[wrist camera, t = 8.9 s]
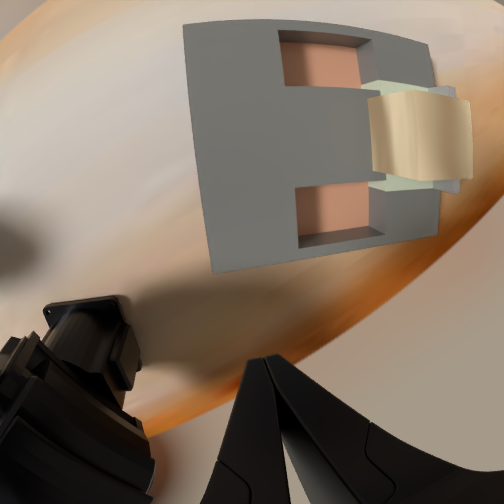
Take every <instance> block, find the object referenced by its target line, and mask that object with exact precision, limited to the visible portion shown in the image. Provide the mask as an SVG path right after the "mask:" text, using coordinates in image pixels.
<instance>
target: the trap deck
mask: <svg viewBox="0 0 504 504" xmlns="http://www.w3.org/2000/svg"><path fill="white" fill-rule="evenodd" d="M183 38H184V51H185V63H186V74H187V85H188V95H189V105H190V114H191V123H192V132H193V140H194V148H195V157H196V164H197V172H198V180H199V187H200V194H201V201H202V208H203V215H204V222H205V228H206V235H207V241H208V248H209V254H210V260H211V266H212V272H213V274H218V273H224V272H230V271H236V270H243V269H249V268H255V267H261V266H267V265H273V264H279V263H285V262H291V261H297V260H303V259H308V258H314V257H320V256H326V255H332V254H337V253H343V252H349V251H354V250H360V249H365V248H371V247H377V246H382V245H388V244H393V243H398V242H404V241H409V240H415V239H420V238H425V237H430V236H436V235H438V223H439V208H440V190H441V191H445V192H448V193H452V194H455V193H460V179H455V180H431V181H418V180H413V179H409V178H405V177H400V176H395V175H391V174H386V173H381V172H376V171H373V163H372V146H371V132H370V120H369V110H368V101H367V98H372V97H376V96H381V95H386V94H392V93H397V92H403V91H408V90H420V91H425V92H431V93H436V94H440V95H445V96H450V97H454V98H456V90H455V87H451V86H440V87H435V83H434V76H433V70H432V64H431V58H430V53H429V48H428V44H424V43H421V42H418V41H414V40H411V39H407V38H403V37H400V36H396V35H391V34H387V33H383V32H378V31H373V30H368V29H363V28H357V27H351V26H345V25H338V24H330V23H321V22H310V21H297V20H271V19H252V20H226V21H213V22H202V23H193V24H185V25H183Z"/></svg>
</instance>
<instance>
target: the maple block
mask: <svg viewBox="0 0 504 504" xmlns="http://www.w3.org/2000/svg"><path fill="white" fill-rule="evenodd" d="M367 101H368V110H369V120H370V132H371V146H372V163H373V171H376V172H381V173H386V174H391V175H395V176H400V177H405V178H409V179H413V180H418V181H431V180H455V179H473V141H472V124H471V112H470V102H469V101H466V100H462V99H458V98H454V97H450V96H445V95H440V94H436V93H431V92H425V91H420V90H408V91H403V92H397V93H392V94H386V95H381V96H376V97H372V98H367Z"/></svg>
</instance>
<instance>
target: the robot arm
mask: <svg viewBox="0 0 504 504" xmlns="http://www.w3.org/2000/svg"><path fill="white" fill-rule="evenodd" d="M110 302H112V303H114V305H115V306H112V305H110ZM48 310H49V311H50V312H51V313H49V312H48ZM43 314H44V316H45V318H46V321H47V323H48V325H49V328H50V329H49V330H48V332H47V333H46V335H45V336H44V338H43V339H42V341H41V340H40V337H39V336H38V335H37V334H36V333H35V332H34V331H33V332H32V333H31V334H30V335H29V336H28V337H26V336H24V337H23V338H21V339H19V338H16V337H11V338H10V339H9V340H8V341H7V343H6V344H5V345H4V347H3V348H2V350H1V351H0V504H150V503H151V502H152V500H153V497H152V496H151V495H149V494H147V493H148V491H149V490H150V487H151V485H152V482H153V478H154V472H155V466H156V465H155V459H154V458H152V457H151V454H150V446H149V441H148V439H147V437H146V436H145V434H144V430H143V426H142V422H141V421H140V420H138V419H137V418H135V417H131V416H130V415H129V414H127V413H126V412H124V411H123V410H122V409H123V404H124V399H125V394H126V391H131V390H132V388H133V385H134V380H135V375H136V372H138V371H140V370H141V368H142V363H141V360H140V358H139V356H140V350H139V347H138V345H137V342H136V339H135V337H134V334H133V331H132V328H131V326H130V325H129V324H128V323H126V320H125V317H124V314H123V311H122V308H121V305H120V302H119V300H118V299H117V298H116V297H113V296H109V297H102V298H95V299H87V300H79V301H72V302H64V303H56V304H48V305H46V306H45V307H44V309H43ZM282 441H283V443H284V446H285V448H286V450H287V453H288V455H289V457H290V459H291V462H292V464H293V466H294V468H295V471H296V473H297V475H298V477H299V480H300V482H301V484H302V486H303V488H304V491H305V493H306V495H307V497H308V499H309V501H310V503H311V504H504V470H502V471H490V472H483V471H473V470H469V469H465V468H462V467H459V466H457V465H454V464H452V463H449V462H447V461H444V460H442V459H440V458H437V457H435V456H433V455H431V454H428V453H426V452H424V451H422V450H419V449H417V448H415V447H413V446H411V445H409V444H407V443H405V442H403V441H402V440H400V439H398V438H396V437H395V436H393V435H391V434H390V433H388V432H386V431H385V430H383V429H382V428H380V427H379V426H377V425H376V424H374V423H373V422H371V423H370V420H368V419H367V418H365V417H364V416H362V415H361V414H359V413H358V412H357V411H355V410H354V409H352V408H351V407H350V406H348V405H347V404H345V403H344V402H342V401H341V400H340V399H338V398H337V397H335V396H334V395H333V394H331V393H330V392H328V391H327V390H326V389H325V388H323V387H322V386H320V385H319V384H318V383H316V382H315V381H314V380H312V379H311V378H310V377H308V376H307V375H306V374H304V373H303V372H302V371H300V370H299V369H298V368H296V367H295V366H294V365H293V364H291V363H290V362H289V361H287V360H286V359H285V358H283V357H282V356H281V355H279V354H273V355H268V356H265V357H264V358H262V357H258V358H253V359H248V360H247V362H246V365H245V368H244V372H243V375H242V378H241V382H240V385H239V389H238V392H237V395H236V399H235V402H234V406H233V409H232V412H231V415H230V419H229V422H228V425H227V428H226V432H225V435H224V438H223V442H222V445H221V448H220V451H219V455H218V457H217V460H218V461H216V463H215V467H214V469H213V473H212V475H211V478H210V481H209V483H208V486H207V489H206V491H205V494H204V496H203V498H202V500H201V502H200V504H291V501H290V493H289V487H288V479H287V472H286V465H285V458H284V451H283V443H282Z"/></svg>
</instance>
